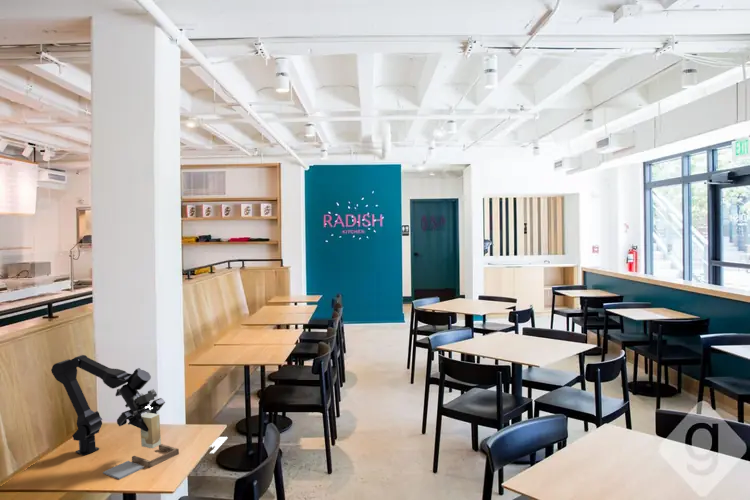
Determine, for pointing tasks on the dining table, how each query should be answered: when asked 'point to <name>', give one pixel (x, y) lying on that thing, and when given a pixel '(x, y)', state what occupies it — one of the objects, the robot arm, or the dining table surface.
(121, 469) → the slate coaster
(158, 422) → the skincare box
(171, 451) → the walnut cubby
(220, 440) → the white meat cleaver
